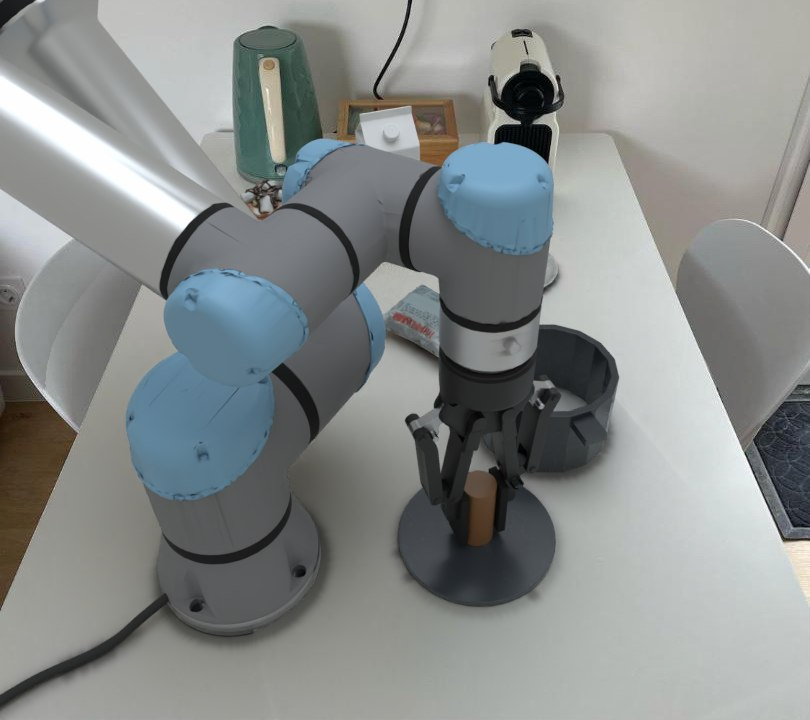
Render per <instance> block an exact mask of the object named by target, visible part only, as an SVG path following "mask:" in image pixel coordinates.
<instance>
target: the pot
mask: <svg viewBox="0 0 810 720" xmlns="http://www.w3.org/2000/svg"><path fill="white" fill-rule="evenodd" d="M536 351H537V355H536V364H535V372H534V381H535V380H536V379H537V377H539V376H541V375H547V377H548V378H549V379H550V381H551V382H552V383H553V385H554V386H555V387H556V388H560V389H564V390H567V391H569V392H571V393H572V394H574V395H576V396H577V397H578V398H580V399H582V400H584V401H585V402H586V403H587V405H583V406H580V407H577V408H574V409H570V410H553V412H552V413H551V417H550V421H549V425H548V430H547V434H546V438H545V442H544V446H543V451H542V455H541V459H540V463H539V468H538V470H537V471H536V472H535V473H565V472H568V471H570V470H574V469H577V468H580V467H582V466H585V465H587V464H588V463H589V462H590V461H591V460H592V459H594V458H595V457H596V456H597V455H598V454H599V453H601V452H602V450H603V447H604V445H605V441H607V439H608V433H609V427H610V423H611V420H612V419H611V418H612V413H613V409H614V406H615V405H614V404H615V401H616V400H615V399H616V394H617V390H618V385H619V381H620V375H619V371H618V365H617V362H616V358H615V357H614V356H613V355H612V354H611V352H609V350H608V349H607V348H606V347H605V345H604V344H603V343H602V342H600V341H599V340H598V339H595V338H594V337H592V336H590V335H588V334H587V333H585V332H583V331H581V330H580V329H579V330H578V329H574V328H571V327H567V326H563V325H559V324H553V323H552V324H551V323H550V324H546V323H545V324H543V323H542V324H539V332H538V341H537V348H536ZM523 409H524V407H523ZM523 409H522V410H521V411H520V412H519V414H518V415H517V416H516V419H515V421H516V429H517V436H516V437H515V439H516V443H517V438H518V433H519V428H520V423H521V418H522V413H523ZM481 439H482V440H483V441H484V443H485V444H486V446H487V448H488V449H489V451H490V452H492V453H493V454H495V450H494V443H493V437H492V433H487V434H485V435H483V436H481Z"/></svg>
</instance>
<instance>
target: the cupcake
mask: <svg viewBox="0 0 810 720" xmlns="http://www.w3.org/2000/svg"><path fill="white" fill-rule="evenodd" d="M282 188H283V185H281V186H279V187H278V185H275V183H274V181H270V179H269V178H266V179H264V180H263V179H262V180H261V181H260V182H258V183H256V184H255V185H254V187H252V188H246V189H245V191H243V192H242V193H241V194H239V196H240V197H241V199H242V200H243V201H244V202H245V204H246V205H247V206H248V207H249V209H250V210H251V211H252V212H253V214H254V215H255V216H256V217H257V218H258V219H259V220H261V221H262V220H263V219H265V218H266V217H268V216H269V215H270V214H271V213H272V212H273V211H275V210H276V209H277V208H279V207H280V206H281V205H282Z"/></svg>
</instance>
